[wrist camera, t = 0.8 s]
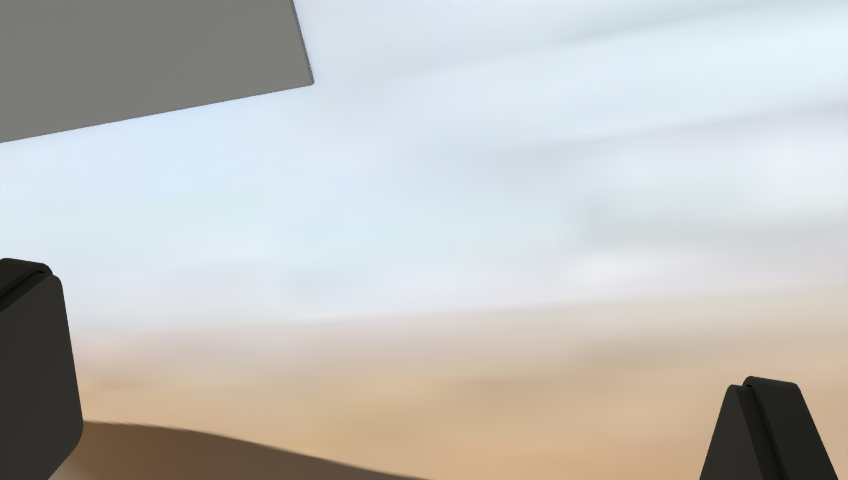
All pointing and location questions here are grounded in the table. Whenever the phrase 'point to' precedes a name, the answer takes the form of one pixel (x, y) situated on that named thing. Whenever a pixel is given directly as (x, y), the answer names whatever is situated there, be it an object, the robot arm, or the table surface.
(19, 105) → the mat
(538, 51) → the table surface
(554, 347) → the table surface
